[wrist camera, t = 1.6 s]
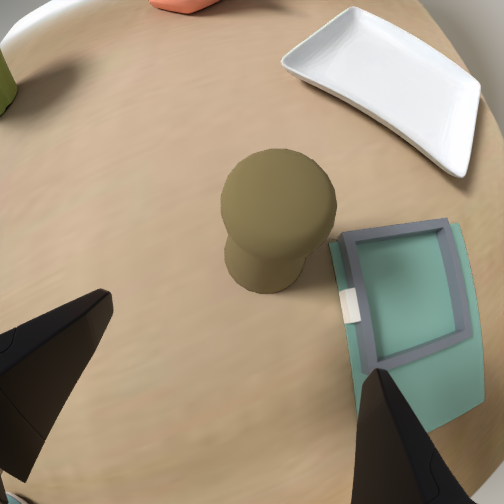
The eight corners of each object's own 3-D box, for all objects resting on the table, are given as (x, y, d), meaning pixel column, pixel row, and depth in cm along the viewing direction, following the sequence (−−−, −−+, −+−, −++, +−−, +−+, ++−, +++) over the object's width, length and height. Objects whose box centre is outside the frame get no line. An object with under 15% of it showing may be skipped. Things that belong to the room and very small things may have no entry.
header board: (482, 400, 19) (493, 402, 18) (359, 458, 18) (366, 466, 17) (456, 220, 23) (466, 215, 22) (326, 240, 23) (332, 233, 21)
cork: (307, 220, 23) (353, 139, 12) (301, 298, 21) (355, 271, 11) (230, 211, 23) (220, 121, 12) (218, 288, 21) (194, 252, 11)
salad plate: (272, 83, 27) (275, 59, 24) (348, 19, 31) (353, 2, 28) (447, 196, 24) (466, 182, 21) (470, 96, 29) (481, 83, 26)
